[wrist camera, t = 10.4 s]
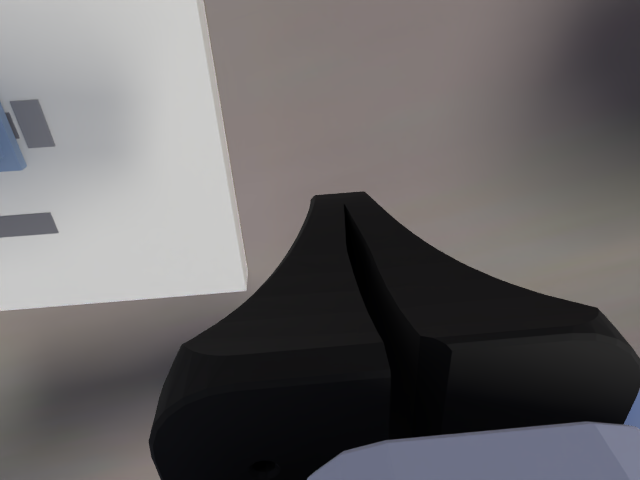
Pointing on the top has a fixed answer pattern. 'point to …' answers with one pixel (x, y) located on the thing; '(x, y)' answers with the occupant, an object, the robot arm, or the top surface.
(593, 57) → the top surface
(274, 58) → the top surface
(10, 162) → the switch tab
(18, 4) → the switch board
